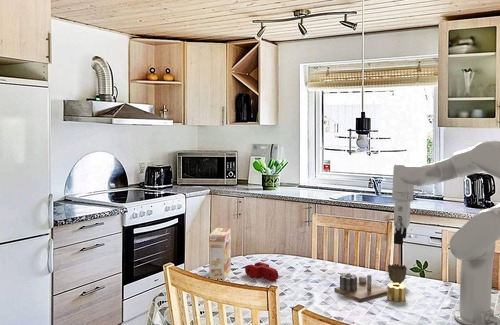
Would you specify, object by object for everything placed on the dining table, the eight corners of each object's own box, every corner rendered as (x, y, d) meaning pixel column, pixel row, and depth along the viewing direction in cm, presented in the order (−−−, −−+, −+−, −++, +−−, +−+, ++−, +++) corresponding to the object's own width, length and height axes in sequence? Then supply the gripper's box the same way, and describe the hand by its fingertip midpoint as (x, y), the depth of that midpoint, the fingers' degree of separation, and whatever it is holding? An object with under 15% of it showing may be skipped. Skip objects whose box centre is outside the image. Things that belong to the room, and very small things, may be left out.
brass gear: (405, 296, 182) (405, 283, 182) (405, 302, 176) (406, 289, 175) (387, 294, 184) (387, 282, 183) (387, 300, 177) (387, 287, 177)
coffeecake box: (224, 280, 202) (224, 235, 200) (208, 279, 203) (208, 234, 202) (231, 270, 217) (231, 227, 215) (216, 269, 218) (216, 227, 216)
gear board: (389, 293, 185) (389, 275, 184) (359, 301, 176) (360, 282, 176) (363, 283, 197) (363, 266, 196) (334, 290, 188) (334, 273, 188)
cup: (407, 288, 190) (407, 269, 189) (388, 287, 192) (388, 268, 191) (405, 282, 197) (405, 264, 197) (386, 281, 199) (387, 263, 198)
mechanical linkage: (245, 275, 210) (245, 264, 209) (256, 271, 215) (256, 261, 214) (270, 283, 198) (270, 272, 198) (282, 280, 203) (282, 268, 202)
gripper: (410, 200, 168) (407, 248, 169) (415, 193, 183) (412, 236, 185) (388, 198, 171) (386, 245, 172) (395, 191, 186) (393, 234, 188)
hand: (400, 240), depth 179 cm, fingers open, 9 cm apart
